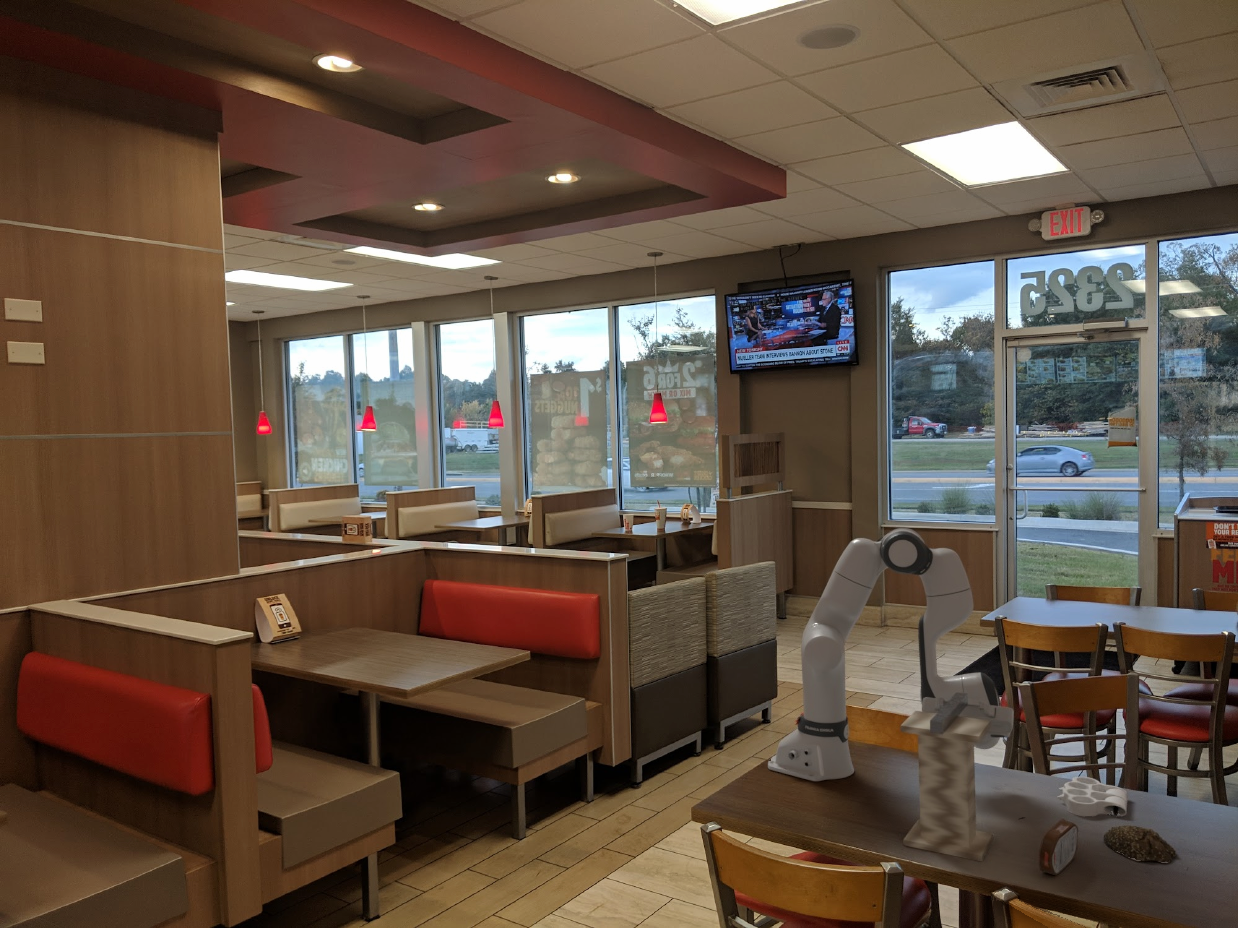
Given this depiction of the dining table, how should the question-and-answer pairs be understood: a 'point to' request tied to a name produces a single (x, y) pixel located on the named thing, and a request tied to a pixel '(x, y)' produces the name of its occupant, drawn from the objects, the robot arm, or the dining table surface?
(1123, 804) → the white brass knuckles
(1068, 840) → the tin
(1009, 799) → the dining table surface
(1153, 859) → the bread roll
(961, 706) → the bar
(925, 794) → the shelf stand
